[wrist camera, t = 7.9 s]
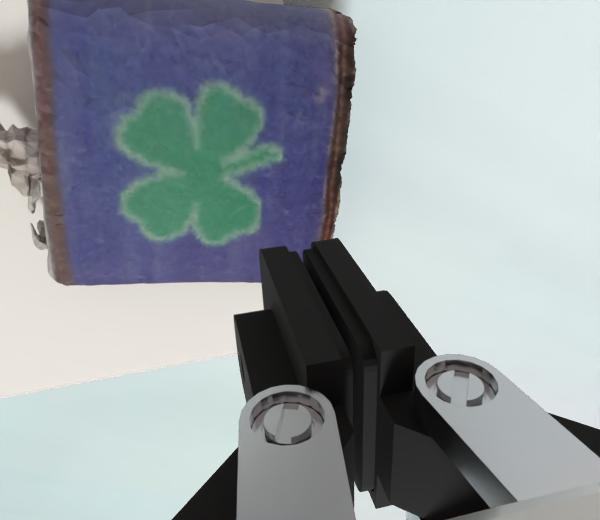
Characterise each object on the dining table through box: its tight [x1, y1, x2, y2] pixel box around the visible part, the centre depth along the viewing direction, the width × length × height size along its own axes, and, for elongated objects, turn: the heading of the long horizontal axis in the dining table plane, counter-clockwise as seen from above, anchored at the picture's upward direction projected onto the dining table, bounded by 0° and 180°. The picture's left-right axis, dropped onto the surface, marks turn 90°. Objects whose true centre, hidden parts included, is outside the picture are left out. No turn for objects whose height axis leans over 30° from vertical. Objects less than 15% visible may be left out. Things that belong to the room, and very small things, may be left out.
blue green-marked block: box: [0, 0, 357, 286], centre depth 17 cm, size 9×3×11 cm
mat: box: [0, 0, 284, 399], centre depth 18 cm, size 16×16×1 cm
